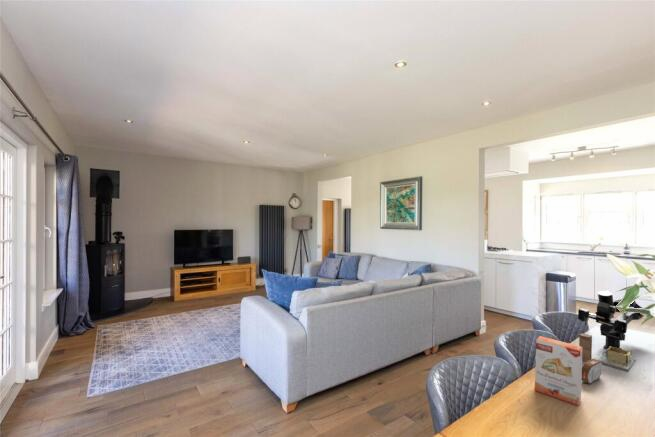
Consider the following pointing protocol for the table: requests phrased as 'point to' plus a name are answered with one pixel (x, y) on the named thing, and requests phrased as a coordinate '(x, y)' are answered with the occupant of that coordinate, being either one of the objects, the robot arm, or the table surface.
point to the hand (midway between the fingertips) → (596, 328)
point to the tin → (591, 371)
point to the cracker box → (558, 369)
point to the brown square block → (586, 346)
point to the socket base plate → (617, 358)
